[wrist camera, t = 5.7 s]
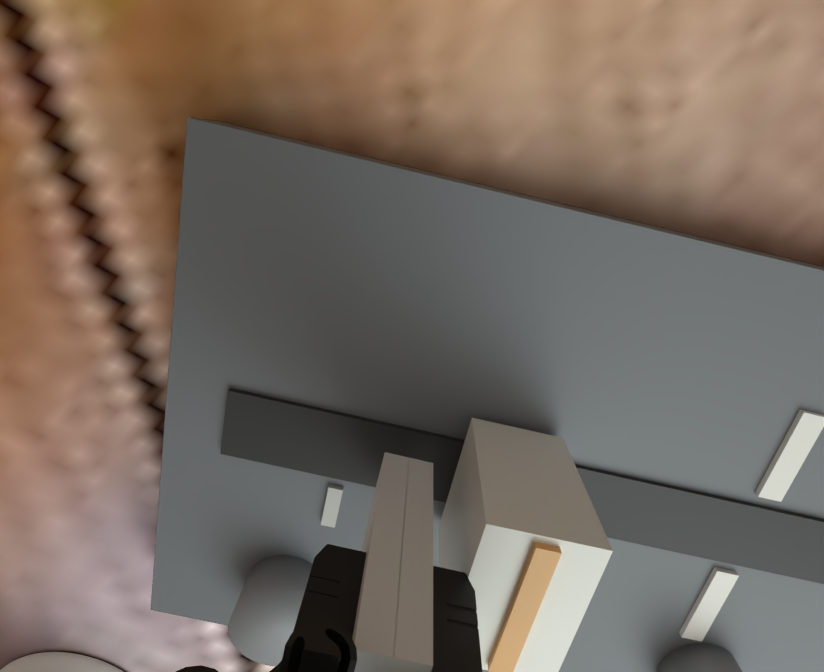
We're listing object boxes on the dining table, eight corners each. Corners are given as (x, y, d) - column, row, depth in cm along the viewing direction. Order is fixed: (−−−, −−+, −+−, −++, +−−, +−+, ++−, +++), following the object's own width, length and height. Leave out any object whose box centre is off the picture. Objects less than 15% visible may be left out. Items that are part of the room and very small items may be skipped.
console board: (216, 120, 16) (150, 113, 12) (1007, 311, 17) (1166, 357, 14) (174, 570, 22) (121, 657, 19) (760, 691, 23) (823, 796, 20)
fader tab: (471, 417, 17) (487, 530, 12) (563, 437, 17) (615, 557, 12) (438, 527, 18) (439, 667, 13) (522, 545, 18) (554, 691, 14)
